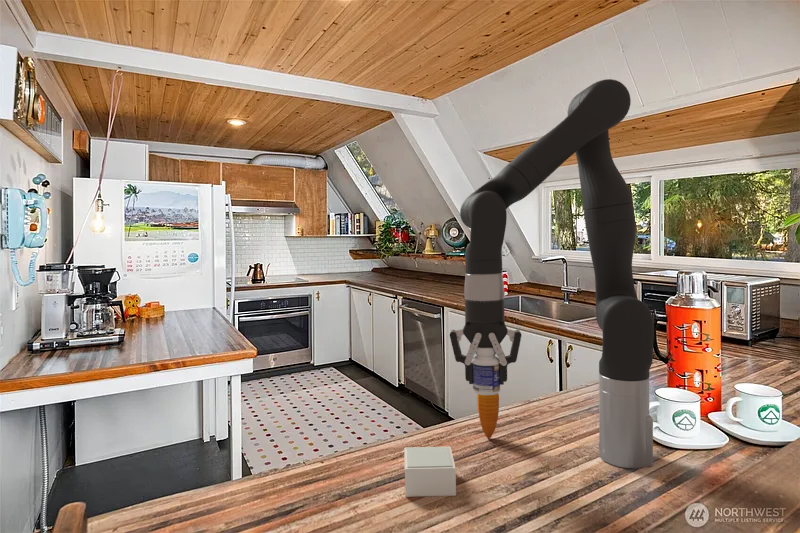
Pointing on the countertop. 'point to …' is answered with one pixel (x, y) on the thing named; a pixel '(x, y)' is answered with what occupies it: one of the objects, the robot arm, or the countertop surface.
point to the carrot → (488, 412)
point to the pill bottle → (486, 372)
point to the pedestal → (429, 471)
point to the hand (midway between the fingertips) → (486, 382)
